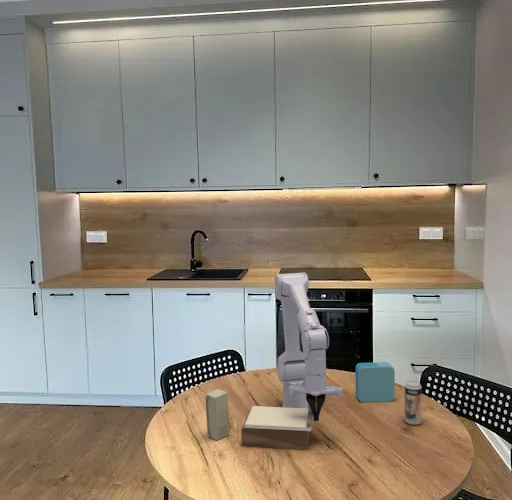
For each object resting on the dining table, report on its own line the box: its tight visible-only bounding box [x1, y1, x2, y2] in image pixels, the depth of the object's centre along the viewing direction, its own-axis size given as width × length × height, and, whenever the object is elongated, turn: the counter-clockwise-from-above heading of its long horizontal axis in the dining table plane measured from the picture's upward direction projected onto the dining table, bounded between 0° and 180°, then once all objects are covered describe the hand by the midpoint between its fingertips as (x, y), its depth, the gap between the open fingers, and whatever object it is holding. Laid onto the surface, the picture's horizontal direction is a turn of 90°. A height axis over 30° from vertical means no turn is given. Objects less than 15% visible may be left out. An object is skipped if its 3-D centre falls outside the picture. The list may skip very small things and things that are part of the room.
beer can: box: [404, 380, 423, 426], centre depth 143 cm, size 5×5×12 cm
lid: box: [245, 405, 314, 432], centre depth 136 cm, size 12×18×2 cm, turn 80°
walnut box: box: [241, 409, 311, 451], centre depth 136 cm, size 12×18×5 cm, turn 80°
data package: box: [355, 361, 396, 403], centre depth 161 cm, size 12×4×12 cm, turn 90°
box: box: [205, 388, 231, 441], centre depth 138 cm, size 5×4×13 cm
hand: (316, 419), depth 134 cm, fingers closed
